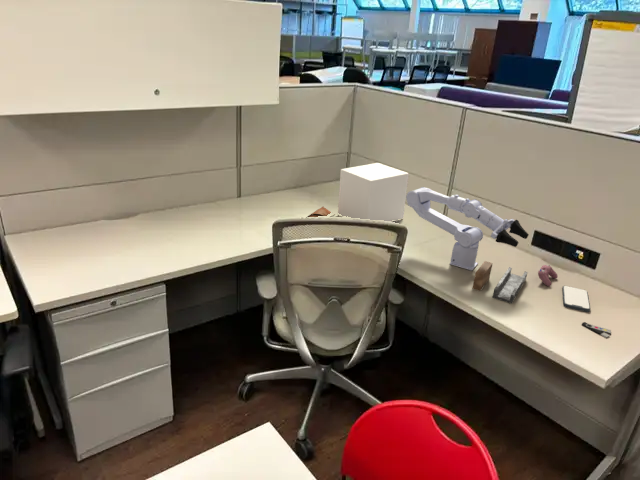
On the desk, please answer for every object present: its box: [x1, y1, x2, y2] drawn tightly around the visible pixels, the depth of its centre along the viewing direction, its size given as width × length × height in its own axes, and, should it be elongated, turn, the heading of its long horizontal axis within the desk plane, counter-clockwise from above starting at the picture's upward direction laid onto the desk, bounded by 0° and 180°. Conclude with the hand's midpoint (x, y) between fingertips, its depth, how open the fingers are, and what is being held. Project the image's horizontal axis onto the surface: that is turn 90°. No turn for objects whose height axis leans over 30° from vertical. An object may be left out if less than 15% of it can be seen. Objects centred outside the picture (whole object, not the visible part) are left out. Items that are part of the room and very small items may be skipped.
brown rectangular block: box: [472, 260, 493, 292], centre depth 186 cm, size 3×12×7 cm, turn 147°
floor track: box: [492, 266, 529, 304], centre depth 184 cm, size 7×22×4 cm, turn 147°
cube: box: [337, 162, 410, 221], centre depth 241 cm, size 25×21×24 cm
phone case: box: [561, 285, 591, 313], centre depth 179 cm, size 9×2×16 cm
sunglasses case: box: [306, 206, 332, 218], centre depth 241 cm, size 18×7×7 cm
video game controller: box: [537, 264, 558, 287], centre depth 191 cm, size 10×5×7 cm, turn 141°
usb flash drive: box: [581, 321, 612, 339], centre depth 162 cm, size 9×5×1 cm, turn 32°
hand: (522, 240), depth 181 cm, fingers open, 7 cm apart
